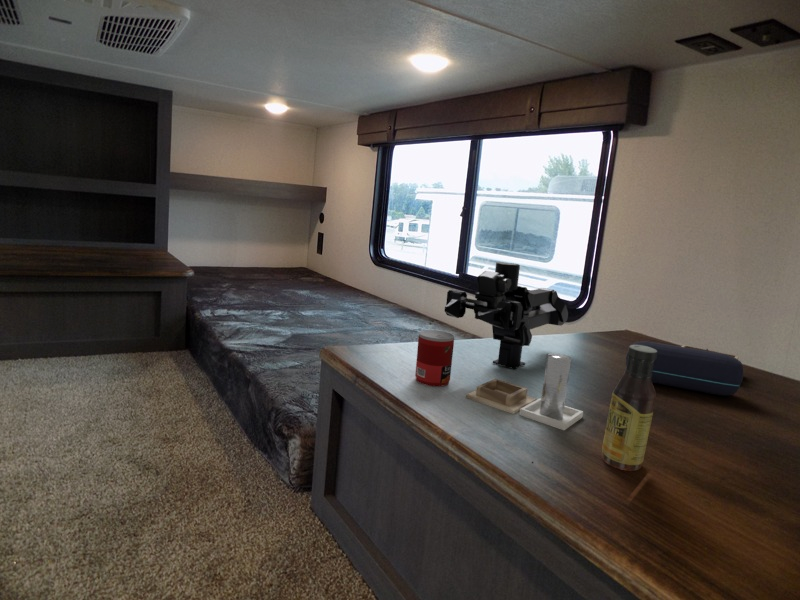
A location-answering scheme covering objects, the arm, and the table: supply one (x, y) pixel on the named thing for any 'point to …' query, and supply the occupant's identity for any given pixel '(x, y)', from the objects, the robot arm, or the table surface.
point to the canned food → (434, 357)
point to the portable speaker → (695, 369)
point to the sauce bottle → (631, 411)
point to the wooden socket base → (501, 395)
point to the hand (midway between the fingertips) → (462, 313)
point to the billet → (555, 386)
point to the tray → (568, 418)
